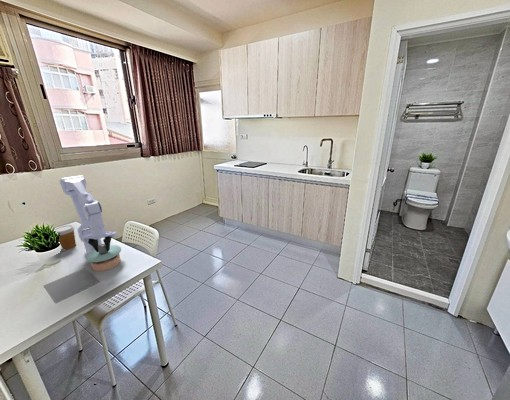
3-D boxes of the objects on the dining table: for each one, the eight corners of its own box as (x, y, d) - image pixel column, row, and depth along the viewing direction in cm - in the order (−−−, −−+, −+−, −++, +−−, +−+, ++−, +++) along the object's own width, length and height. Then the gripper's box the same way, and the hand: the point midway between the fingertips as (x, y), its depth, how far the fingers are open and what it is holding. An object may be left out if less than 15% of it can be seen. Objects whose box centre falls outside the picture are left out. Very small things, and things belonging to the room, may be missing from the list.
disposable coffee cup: (55, 248, 130) (48, 230, 127) (73, 241, 139) (67, 223, 135) (64, 252, 127) (58, 233, 123) (82, 244, 135) (77, 226, 131)
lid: (81, 255, 112) (79, 247, 110) (113, 243, 123) (111, 235, 122) (92, 266, 103) (90, 257, 102) (126, 251, 115) (124, 244, 113)
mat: (43, 286, 100) (43, 285, 100) (85, 268, 112) (85, 267, 112) (56, 304, 90) (55, 303, 90) (100, 282, 102) (100, 281, 102)
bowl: (89, 265, 114) (87, 259, 113) (114, 255, 123) (112, 248, 122) (98, 274, 108) (96, 267, 106) (124, 262, 117) (123, 256, 115)
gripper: (75, 231, 103) (83, 257, 108) (110, 228, 106) (116, 252, 111) (82, 225, 110) (89, 249, 114) (115, 222, 113) (121, 245, 117)
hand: (103, 250), depth 113 cm, fingers closed on lid, 4 cm apart
